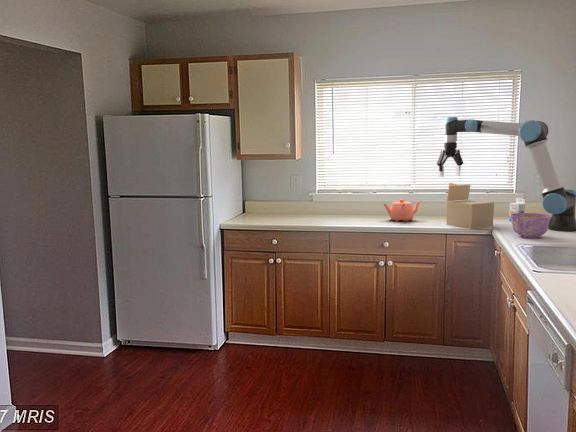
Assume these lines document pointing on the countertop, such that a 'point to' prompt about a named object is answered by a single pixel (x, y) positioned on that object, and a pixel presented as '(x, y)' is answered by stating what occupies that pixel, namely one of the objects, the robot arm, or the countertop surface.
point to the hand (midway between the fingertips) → (449, 176)
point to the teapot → (402, 210)
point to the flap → (458, 192)
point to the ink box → (517, 207)
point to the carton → (470, 214)
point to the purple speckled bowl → (530, 224)
